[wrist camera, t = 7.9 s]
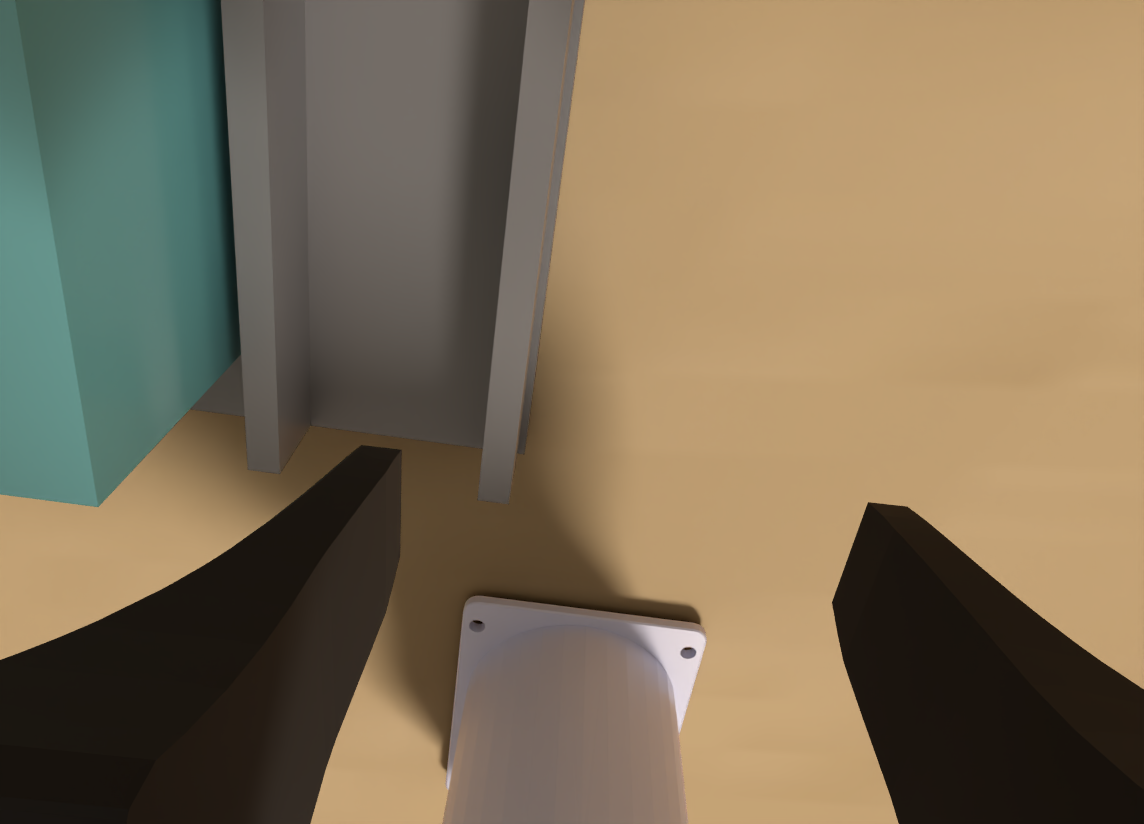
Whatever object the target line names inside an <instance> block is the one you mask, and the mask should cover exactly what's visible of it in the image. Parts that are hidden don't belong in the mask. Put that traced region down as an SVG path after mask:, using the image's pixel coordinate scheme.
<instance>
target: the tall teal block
mask: <svg viewBox="0 0 1144 824" xmlns="http://www.w3.org/2000/svg"><path fill="white" fill-rule="evenodd" d="M240 355H241V342H240V325H239V307H238V290H237V273H236V255H235V238H234V220H233V203H232V186H231V168H230V151H229V134H228V116H227V99H226V81H225V64H224V47H223V29H222V12H221V0H0V494H1V495H9V496H17V497H25V498H32V499H40V500H48V501H55V502H63V503H71V504H78V505H86V506H94V507H99V506H100V505H101V504H102V503H103V501H104V500H105V499H106V498H107V497H108V496H109V495H110V494H111V493H112V492H113V491H114V490H115V489H116V488H117V486H118V485H119V484H120V483H121V482H122V481H123V480H124V479H125V478H126V477H127V476H128V475H129V474H130V473H131V472H132V470H133V469H134V468H135V467H136V466H137V465H138V464H139V463H140V462H141V461H142V460H143V459H144V458H145V457H146V455H147V454H148V453H149V452H150V451H151V450H152V449H153V448H154V447H155V446H156V445H157V444H158V443H159V442H160V440H161V439H162V438H163V437H164V436H165V435H166V434H167V433H168V432H169V431H170V430H171V429H172V428H173V427H174V426H175V424H176V423H177V422H178V421H179V420H180V419H181V418H182V417H183V416H184V415H185V414H186V413H187V412H188V411H189V409H190V408H191V407H192V406H193V405H194V404H195V403H196V402H197V401H198V400H199V399H200V398H201V397H202V396H203V394H204V393H205V392H206V391H207V390H208V389H209V388H210V387H211V386H212V385H213V384H214V383H215V382H216V381H217V380H218V378H219V377H220V376H221V375H222V374H223V373H224V372H225V371H226V370H227V369H228V368H229V367H230V366H231V365H232V363H233V362H234V361H235V360H236V359H237V358H238V357H239V356H240Z"/></svg>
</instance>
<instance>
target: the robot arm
mask: <svg viewBox="0 0 1144 824" xmlns="http://www.w3.org/2000/svg"><path fill="white" fill-rule="evenodd" d="M401 456H402V450H398V449H390V448H381V447H372V446H363V445H361V446H360V447H359V448H357V449H356V450H355V451H353V452H352V453H351V454H350V455H349V456H347V457H346V458H345V459H344V460H343V461H342V462H340V463H339V464H338V465H337V466H336V467H335V468H333V469H332V470H331V471H330V472H329V473H328V474H326V475H325V476H324V477H323V478H322V479H321V480H319V481H318V482H317V483H316V484H315V485H313V486H312V487H311V488H310V489H309V490H307V491H306V492H305V493H304V494H303V495H301V496H300V497H299V498H297V499H296V500H295V501H294V502H292V503H291V504H290V505H289V506H287V507H286V508H285V509H284V510H282V511H281V512H280V513H279V514H277V515H276V516H275V517H274V518H272V519H271V520H270V521H268V522H267V523H266V524H264V525H263V526H261V527H260V528H259V529H257V530H256V531H254V532H253V533H252V534H250V535H249V536H247V537H246V538H244V539H243V540H242V541H240V542H239V543H237V544H236V545H235V546H233V547H232V548H230V549H229V550H227V551H226V552H224V553H223V554H221V555H220V556H218V557H217V558H215V559H213V560H212V561H210V562H209V563H207V564H205V565H204V566H202V567H200V568H199V569H197V570H195V571H193V572H192V573H190V574H188V575H186V576H185V577H183V578H181V579H180V580H178V581H176V582H174V583H173V584H171V585H169V586H167V587H165V588H163V589H161V590H160V591H158V592H156V593H153V594H151V595H149V596H147V597H145V598H143V599H141V600H139V601H137V602H135V603H133V604H131V605H129V606H127V607H125V608H123V609H121V610H119V611H117V612H115V613H113V614H111V615H109V616H107V617H105V618H103V619H101V620H98V621H96V622H94V623H92V624H89V625H87V626H85V627H82V628H80V629H78V630H75V631H73V632H71V633H68V634H66V635H64V636H61V637H59V638H57V639H54V640H51V641H49V642H46V643H44V644H41V645H39V646H36V647H34V648H31V649H28V650H26V651H23V652H21V653H18V654H16V655H13V656H10V657H7V658H5V659H2V660H0V824H310V823H311V819H312V816H313V812H314V809H315V805H316V802H317V798H318V794H319V791H320V787H321V784H322V780H323V777H324V773H325V770H326V766H327V764H328V761H329V758H330V755H331V752H332V749H333V746H334V743H335V740H336V738H337V735H338V733H339V730H340V728H341V725H342V723H343V720H344V717H345V715H346V712H347V710H348V707H349V705H350V702H351V700H352V697H353V695H354V692H355V690H356V687H357V685H358V682H359V680H360V677H361V675H362V672H363V670H364V667H365V664H366V662H367V659H368V657H369V654H370V652H371V649H372V647H373V644H374V642H375V639H376V636H377V634H378V631H379V629H380V626H381V624H382V621H383V618H384V616H385V613H386V609H387V606H388V602H389V598H390V594H391V590H392V587H393V582H394V578H395V574H396V570H397V566H398V562H399V558H400V528H401ZM832 605H833V610H834V616H835V622H836V627H837V633H838V638H839V642H840V647H841V652H842V656H843V661H844V664H845V667H846V670H847V673H848V676H849V679H850V682H851V685H852V688H853V691H854V694H855V697H856V700H857V703H858V706H859V708H860V711H861V714H862V717H863V720H864V723H865V725H866V728H867V731H868V734H869V737H870V740H871V742H872V745H873V748H874V751H875V754H876V757H877V759H878V762H879V765H880V768H881V771H882V773H883V776H884V779H885V782H886V785H887V788H888V790H889V793H890V796H891V800H892V803H893V806H894V809H895V813H896V816H897V819H898V823H899V824H1144V689H1142V688H1141V687H1139V686H1138V685H1136V684H1135V683H1133V682H1131V681H1130V680H1128V679H1127V678H1125V677H1124V676H1122V675H1121V674H1119V673H1118V672H1116V671H1115V670H1113V669H1112V668H1110V667H1109V666H1107V665H1106V664H1104V663H1103V662H1101V661H1100V660H1099V659H1097V658H1096V657H1094V656H1093V655H1092V654H1090V653H1089V652H1087V651H1086V650H1085V649H1083V648H1082V647H1080V646H1079V645H1078V644H1076V643H1075V642H1074V641H1072V640H1071V639H1070V638H1068V637H1067V636H1066V635H1064V634H1063V633H1062V632H1061V631H1059V630H1058V629H1057V628H1055V627H1054V626H1053V625H1051V624H1050V623H1049V622H1047V621H1046V620H1045V619H1043V618H1042V617H1041V616H1039V615H1038V614H1037V613H1036V612H1034V611H1033V610H1032V609H1031V608H1029V607H1028V606H1027V605H1026V604H1024V603H1023V602H1022V601H1021V600H1019V599H1018V598H1017V597H1016V596H1015V595H1013V594H1012V593H1011V592H1010V591H1009V590H1007V589H1006V588H1005V587H1004V586H1002V585H1001V584H1000V583H999V582H998V581H997V580H995V579H994V578H993V577H992V576H991V575H989V574H988V573H987V572H986V571H985V570H983V569H982V568H981V567H980V566H979V565H978V564H976V563H975V562H974V561H973V560H972V559H971V558H969V557H968V556H967V555H966V554H965V553H964V552H962V551H961V550H960V549H959V548H958V547H957V546H955V545H954V544H953V543H952V542H951V541H950V540H948V539H947V538H946V537H945V536H944V535H942V534H941V533H940V532H939V531H938V530H936V529H935V528H934V527H933V526H932V525H930V524H929V523H928V522H927V521H925V520H924V519H923V518H922V517H920V516H919V515H918V514H916V513H915V512H914V511H912V510H911V509H910V508H908V507H905V506H896V505H887V504H878V503H869V502H868V504H867V507H866V510H865V512H864V515H863V518H862V521H861V523H860V526H859V529H858V532H857V535H856V537H855V540H854V543H853V546H852V548H851V551H850V554H849V557H848V560H847V562H846V565H845V568H844V571H843V573H842V576H841V579H840V582H839V585H838V587H837V590H836V593H835V596H834V598H833V601H832ZM473 620H479V621H482V622H483V623H482V624H477V623H474V622H473ZM705 645H706V632H705V630H704V628H703V627H702V626H701V625H699V624H696V623H692V622H684V621H676V620H668V619H660V618H652V617H644V616H637V615H629V614H621V613H613V612H605V611H597V610H589V609H582V608H574V607H566V606H558V605H550V604H542V603H535V602H527V601H519V600H511V599H503V598H495V597H487V596H473V597H470V598H469V599H468V600H467V601H466V603H465V605H464V610H463V618H462V628H461V638H460V647H459V657H458V667H457V677H456V687H455V697H454V707H453V717H452V726H451V736H450V746H449V756H448V766H447V776H446V788H447V789H448V796H447V801H446V807H445V812H444V817H443V823H442V824H688V815H687V806H686V797H685V787H684V778H683V768H682V759H681V749H680V740H679V734H680V730H681V727H682V723H683V720H684V717H685V713H686V710H687V706H688V703H689V700H690V696H691V693H692V689H693V686H694V683H695V679H696V676H697V672H698V669H699V666H700V662H701V659H702V656H703V652H704V649H705ZM685 647H692V649H690V650H684V649H683V648H685Z"/></svg>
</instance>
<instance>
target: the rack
mask: <svg viewBox="0 0 1144 824" xmlns="http://www.w3.org/2000/svg"><path fill="white" fill-rule="evenodd" d="M584 3H585V0H221V12H222V29H223V47H224V64H225V81H226V99H227V116H228V134H229V151H230V168H231V186H232V203H233V220H234V238H235V255H236V273H237V290H238V307H239V325H240V342H241V355H240V356H239V357H238V358H237V359H236V360H235V361H234V362H233V363H232V365H231V366H230V367H229V368H228V369H227V370H226V371H225V372H224V373H223V374H222V375H221V376H220V377H219V378H218V380H217V381H216V382H215V383H214V384H213V385H212V386H211V387H210V388H209V389H208V390H207V391H206V392H205V393H204V394H203V396H202V397H201V398H200V399H199V400H198V401H197V402H196V403H195V404H194V405H193V406H192V407H191V408H190V409H192V410H199V411H207V412H214V413H221V414H229V415H236V416H244V417H245V429H246V447H247V464H248V470H253V471H261V472H268V473H276V474H280V473H281V471H282V470H283V468H284V467H285V465H286V464H287V462H288V460H289V459H290V457H291V456H292V454H293V453H294V451H295V449H296V448H297V446H298V445H299V443H300V441H301V440H302V438H303V437H304V435H305V434H306V432H307V430H308V429H309V427H310V426H318V427H325V428H333V429H340V430H347V431H355V432H362V433H370V434H377V435H384V436H392V437H399V438H407V439H414V440H422V441H429V442H436V443H444V444H451V445H459V446H466V447H473V448H481V449H483V452H482V462H481V471H480V481H479V491H478V500H480V501H487V502H495V503H503V504H509V500H510V494H511V488H512V482H513V476H514V470H515V464H516V458H517V453H518V454H525V447H526V440H527V434H528V426H529V418H530V411H531V403H532V396H533V388H534V381H535V373H536V366H537V358H538V350H539V343H540V335H541V328H542V320H543V313H544V305H545V298H546V290H547V283H548V275H549V267H550V260H551V252H552V245H553V237H554V230H555V222H556V215H557V207H558V199H559V192H560V184H561V177H562V169H563V162H564V154H565V147H566V139H567V132H568V124H569V116H570V109H571V101H572V94H573V86H574V79H575V71H576V64H577V56H578V48H579V41H580V33H581V26H582V18H583V11H584Z"/></svg>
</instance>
